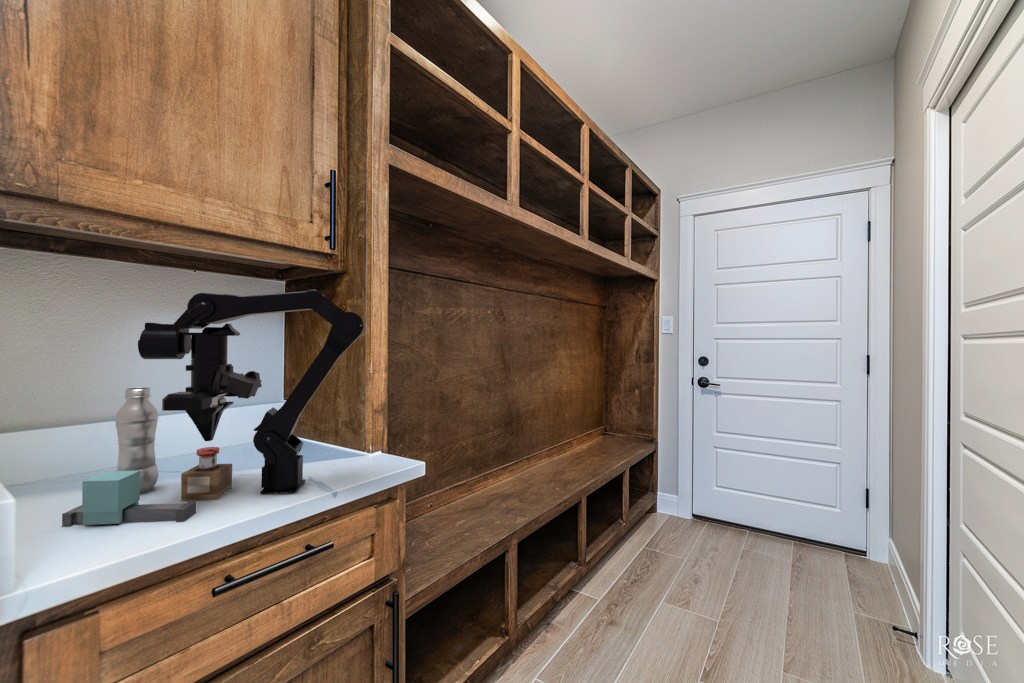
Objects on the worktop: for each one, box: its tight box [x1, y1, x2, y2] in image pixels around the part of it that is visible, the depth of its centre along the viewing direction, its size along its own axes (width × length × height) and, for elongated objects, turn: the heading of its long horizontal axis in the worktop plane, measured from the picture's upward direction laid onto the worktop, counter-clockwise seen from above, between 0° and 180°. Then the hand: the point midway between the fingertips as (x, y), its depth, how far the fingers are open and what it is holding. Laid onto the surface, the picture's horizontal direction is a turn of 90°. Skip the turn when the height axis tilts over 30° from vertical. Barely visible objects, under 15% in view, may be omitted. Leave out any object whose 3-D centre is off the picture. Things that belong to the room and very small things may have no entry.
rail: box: [61, 500, 197, 528], centre depth 72 cm, size 17×4×2 cm, turn 99°
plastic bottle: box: [114, 386, 159, 493], centre depth 85 cm, size 6×7×20 cm
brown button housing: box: [180, 463, 233, 502], centre depth 84 cm, size 6×6×5 cm
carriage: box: [81, 470, 141, 526], centre depth 72 cm, size 5×5×7 cm
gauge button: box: [196, 446, 220, 471], centre depth 84 cm, size 4×4×6 cm
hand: (208, 440), depth 84 cm, fingers closed
